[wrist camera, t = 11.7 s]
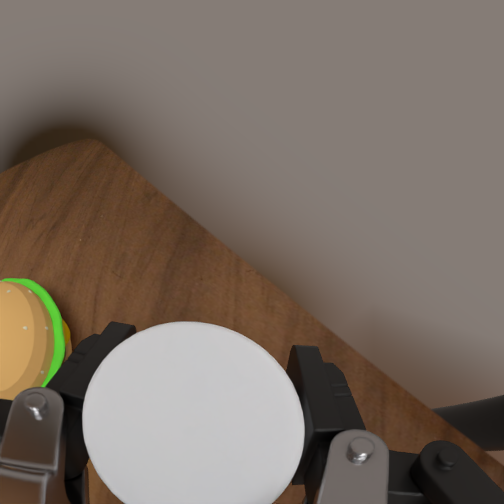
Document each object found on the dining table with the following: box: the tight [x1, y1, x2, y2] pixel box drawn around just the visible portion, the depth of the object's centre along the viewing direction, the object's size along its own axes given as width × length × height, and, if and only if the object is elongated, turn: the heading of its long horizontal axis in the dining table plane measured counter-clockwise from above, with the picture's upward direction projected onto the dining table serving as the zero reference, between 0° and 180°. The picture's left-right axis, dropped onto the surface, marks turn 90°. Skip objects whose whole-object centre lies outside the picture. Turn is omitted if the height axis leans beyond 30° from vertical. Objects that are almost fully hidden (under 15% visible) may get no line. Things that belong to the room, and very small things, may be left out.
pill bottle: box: [82, 322, 305, 504], centre depth 8 cm, size 5×5×8 cm
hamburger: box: [0, 278, 72, 400], centre depth 20 cm, size 12×12×9 cm
